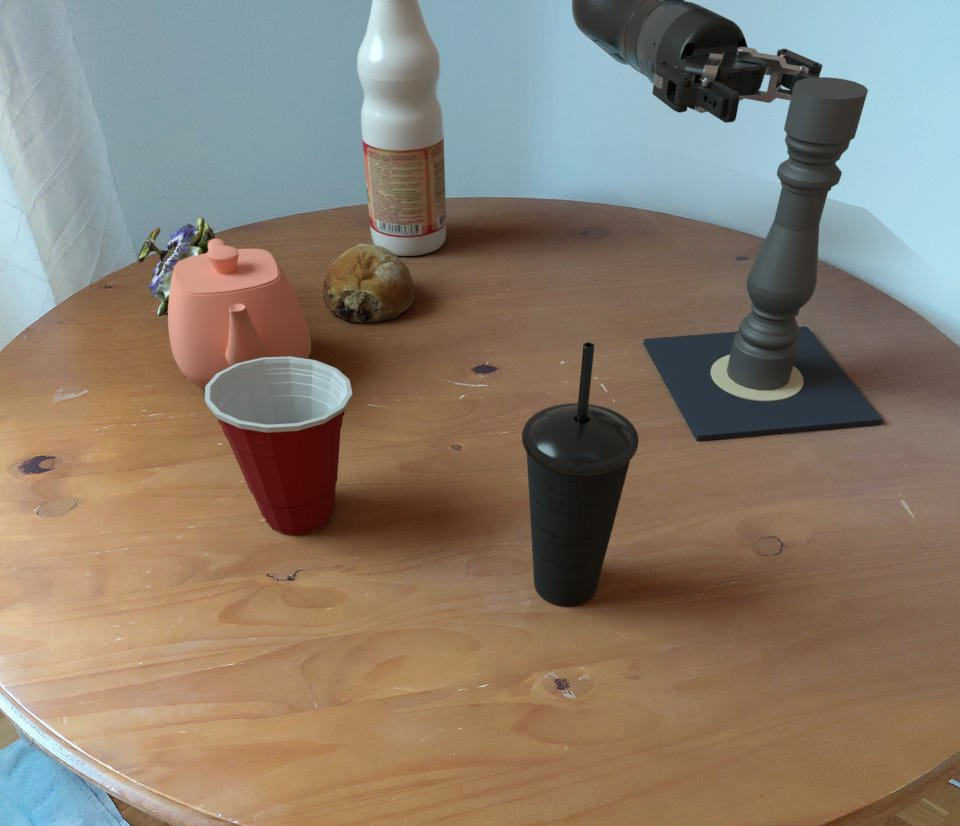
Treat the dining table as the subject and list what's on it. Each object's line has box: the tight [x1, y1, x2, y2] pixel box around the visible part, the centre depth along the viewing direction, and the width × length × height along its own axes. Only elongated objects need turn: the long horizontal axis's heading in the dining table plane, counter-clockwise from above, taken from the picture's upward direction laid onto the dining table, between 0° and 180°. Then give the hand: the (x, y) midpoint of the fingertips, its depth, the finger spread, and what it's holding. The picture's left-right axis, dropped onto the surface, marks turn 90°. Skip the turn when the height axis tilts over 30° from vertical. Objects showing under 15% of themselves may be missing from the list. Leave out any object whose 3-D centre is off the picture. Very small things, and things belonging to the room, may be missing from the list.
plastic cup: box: [204, 357, 353, 536], centre depth 70 cm, size 11×11×12 cm
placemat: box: [643, 326, 884, 442], centre depth 88 cm, size 18×18×1 cm
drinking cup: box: [521, 341, 639, 607], centre depth 61 cm, size 8×8×20 cm
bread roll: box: [322, 242, 415, 324], centre depth 98 cm, size 10×10×8 cm
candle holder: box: [727, 76, 869, 390], centre depth 79 cm, size 6×6×25 cm
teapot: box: [167, 238, 312, 390], centre depth 85 cm, size 13×20×12 cm, turn 19°
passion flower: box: [137, 217, 217, 317], centre depth 96 cm, size 11×11×12 cm
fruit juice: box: [356, 0, 447, 257], centre depth 101 cm, size 9×9×28 cm
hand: (778, 104), depth 76 cm, fingers open, 8 cm apart
